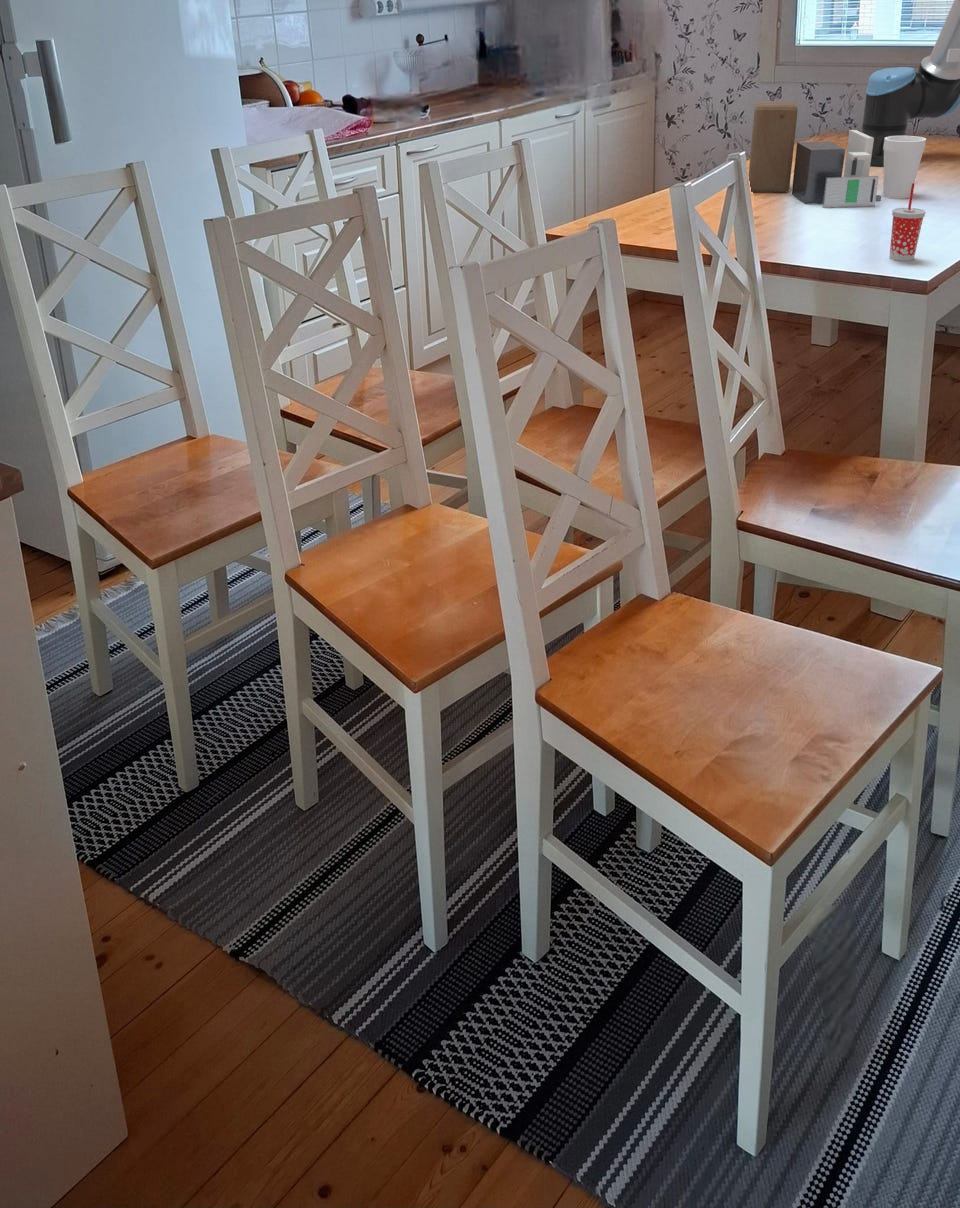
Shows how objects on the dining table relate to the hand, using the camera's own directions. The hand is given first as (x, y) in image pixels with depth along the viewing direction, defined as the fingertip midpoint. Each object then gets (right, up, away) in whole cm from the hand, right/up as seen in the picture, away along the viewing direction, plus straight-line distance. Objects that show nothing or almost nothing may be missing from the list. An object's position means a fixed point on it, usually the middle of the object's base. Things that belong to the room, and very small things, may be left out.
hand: (959, 58), depth 268 cm
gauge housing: (-24, -28, +12) cm, 39 cm away
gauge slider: (-22, -27, +12) cm, 36 cm away
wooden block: (-38, -21, +26) cm, 50 cm away
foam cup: (-9, -27, +15) cm, 32 cm away
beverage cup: (-27, -57, -38) cm, 73 cm away
